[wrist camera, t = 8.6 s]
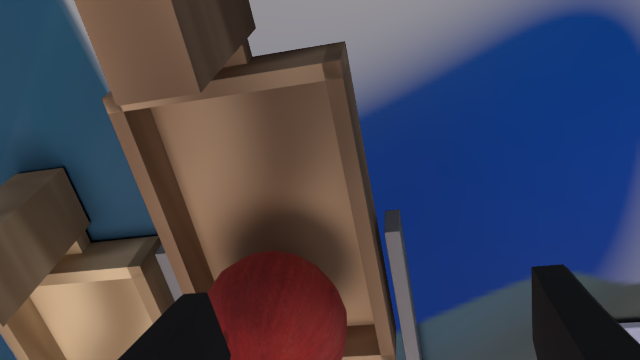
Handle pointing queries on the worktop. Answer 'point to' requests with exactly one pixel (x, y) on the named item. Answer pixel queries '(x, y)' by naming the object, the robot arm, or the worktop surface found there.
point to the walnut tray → (244, 150)
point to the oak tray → (70, 276)
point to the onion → (279, 309)
